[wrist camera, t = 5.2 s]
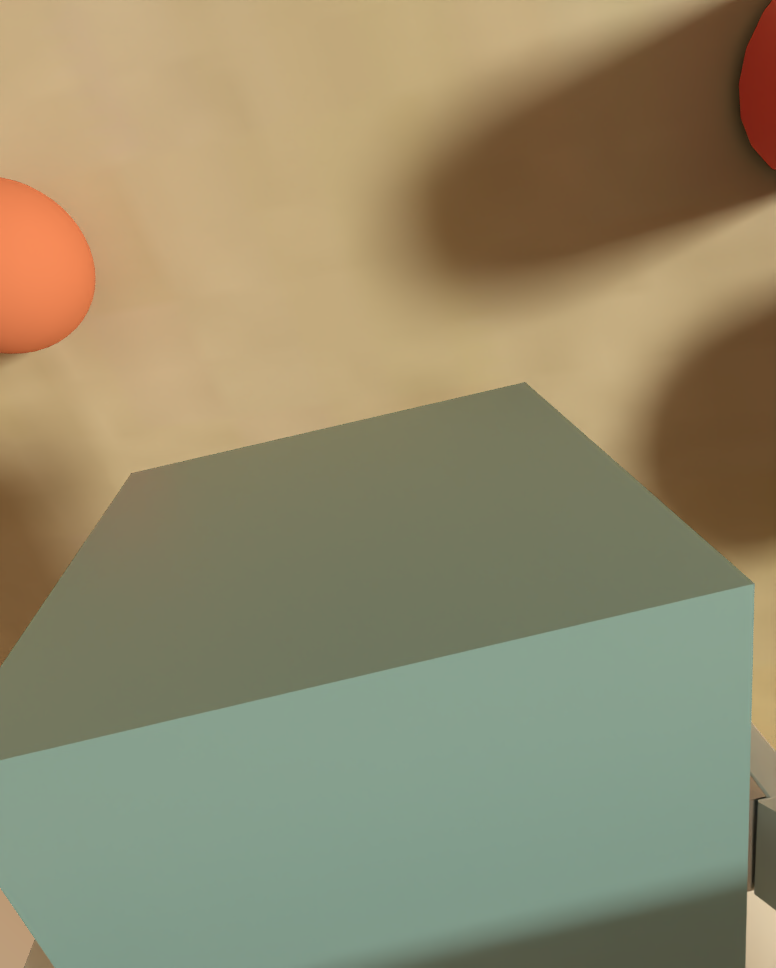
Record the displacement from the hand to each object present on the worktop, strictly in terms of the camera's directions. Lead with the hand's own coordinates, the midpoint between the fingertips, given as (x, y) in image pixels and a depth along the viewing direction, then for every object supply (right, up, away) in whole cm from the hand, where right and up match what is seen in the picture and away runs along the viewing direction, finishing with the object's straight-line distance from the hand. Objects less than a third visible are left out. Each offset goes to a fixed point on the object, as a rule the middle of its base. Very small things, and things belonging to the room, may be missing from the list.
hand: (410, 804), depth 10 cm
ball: (-12, +11, +10) cm, 19 cm away
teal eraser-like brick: (0, +1, +3) cm, 4 cm away
